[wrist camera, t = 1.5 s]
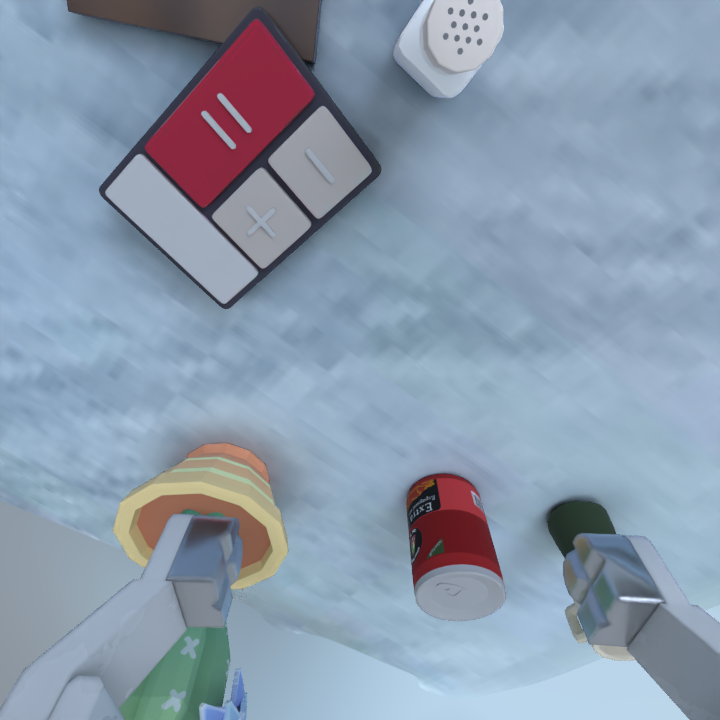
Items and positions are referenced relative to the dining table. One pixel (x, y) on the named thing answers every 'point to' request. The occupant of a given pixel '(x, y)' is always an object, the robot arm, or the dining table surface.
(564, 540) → the trophy
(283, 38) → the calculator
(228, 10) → the board
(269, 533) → the potted cactus
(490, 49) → the pepper shaker
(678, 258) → the dining table surface
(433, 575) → the canned food
